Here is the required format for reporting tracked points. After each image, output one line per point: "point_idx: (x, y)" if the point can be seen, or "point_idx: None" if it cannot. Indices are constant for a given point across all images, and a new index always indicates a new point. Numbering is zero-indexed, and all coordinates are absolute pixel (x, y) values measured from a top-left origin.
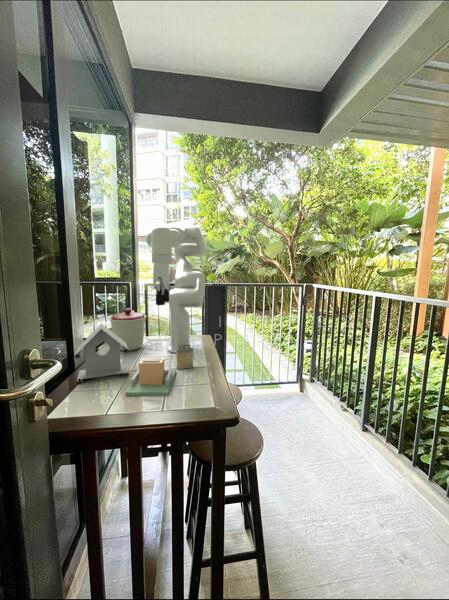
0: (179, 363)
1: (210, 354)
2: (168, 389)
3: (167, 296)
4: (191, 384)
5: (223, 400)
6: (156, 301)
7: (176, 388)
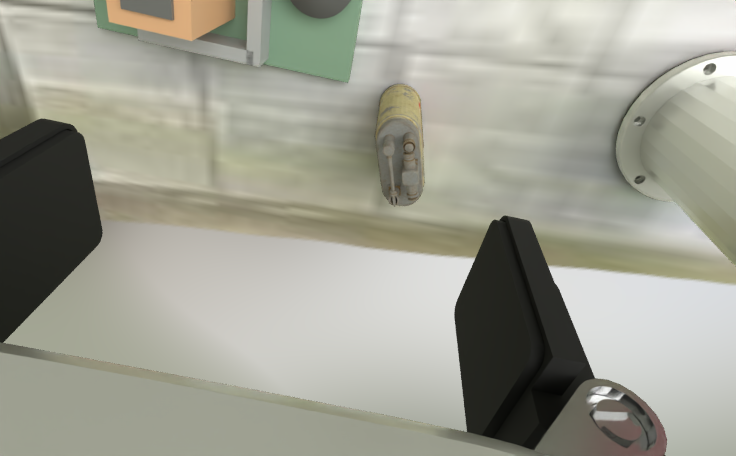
0: (380, 107)
1: None
2: (122, 32)
3: (465, 363)
4: (211, 129)
5: (100, 206)
6: (4, 149)
7: (173, 66)
